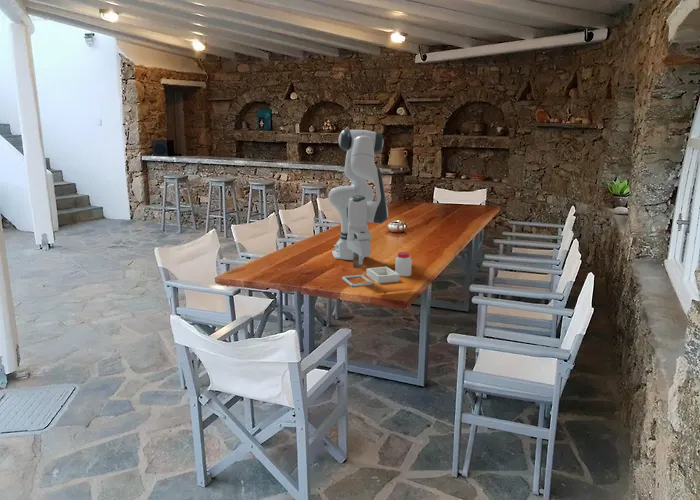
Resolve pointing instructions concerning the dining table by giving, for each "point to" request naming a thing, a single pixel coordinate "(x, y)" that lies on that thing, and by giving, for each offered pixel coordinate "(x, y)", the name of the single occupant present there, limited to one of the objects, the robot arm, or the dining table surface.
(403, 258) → the pill bottle
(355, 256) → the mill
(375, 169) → the robot arm
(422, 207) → the dining table surface
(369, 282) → the tray
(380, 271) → the white storage bin
